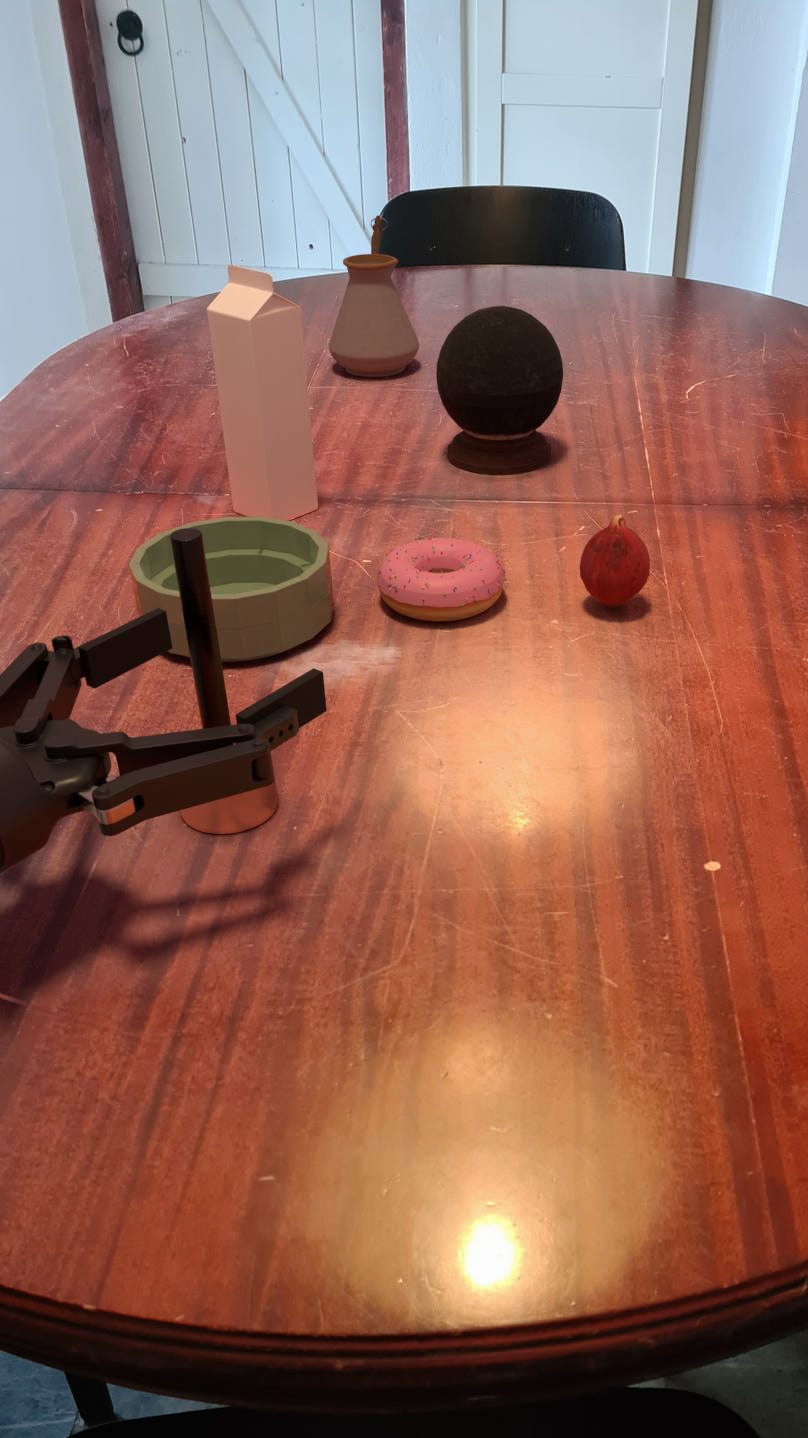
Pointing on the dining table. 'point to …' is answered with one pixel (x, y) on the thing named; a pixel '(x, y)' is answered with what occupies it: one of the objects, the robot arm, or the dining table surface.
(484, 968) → the dining table surface
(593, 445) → the dining table surface
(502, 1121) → the dining table surface
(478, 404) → the black ball on stand
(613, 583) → the onion
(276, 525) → the bowl
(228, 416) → the milk
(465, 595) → the doughnut
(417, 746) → the dining table surface
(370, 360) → the coffee pot
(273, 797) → the paper towel holder
